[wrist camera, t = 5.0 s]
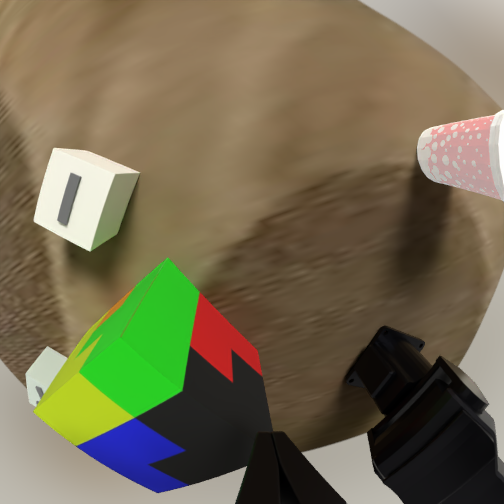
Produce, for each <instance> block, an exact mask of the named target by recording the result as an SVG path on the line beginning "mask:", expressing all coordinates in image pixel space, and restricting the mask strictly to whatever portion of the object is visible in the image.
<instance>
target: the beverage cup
mask: <svg viewBox="0 0 504 504" xmlns="http://www.w3.org/2000/svg"><path fill="white" fill-rule="evenodd" d="M417 155H418V161H419V164H420V167H421V169H422V171H423V172H424V174H425V175H426V176H427V178H429V179H431V180H432V181H434V182H437V183H442V184H446V185H450V186H454V187H458V188H462V189H465V190H469V191H473V192H476V193H480V194H483V195H487V196H490V197H493V198H496V199H500V200H502V201H503V202H504V110H502V111H500V112H498V113H497V114H495V115H493V116H487V117H481V118H475V119H470V120H465V121H459V122H454V123H450V124H445V125H440V126H436V127H431V128H429V129H427V130H425V131H423V133H422V134H421V136H420V137H419V141H418V146H417Z"/></svg>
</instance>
